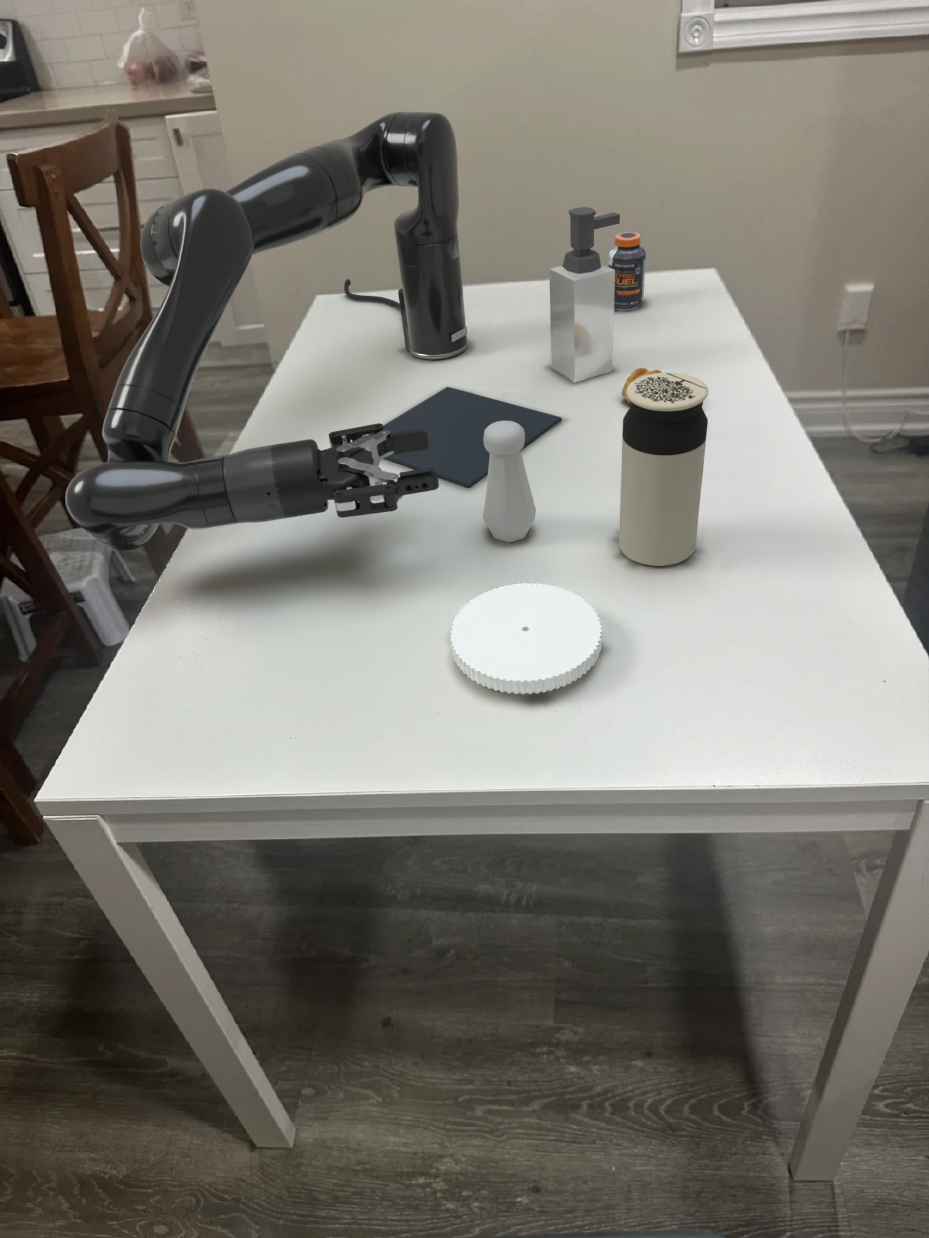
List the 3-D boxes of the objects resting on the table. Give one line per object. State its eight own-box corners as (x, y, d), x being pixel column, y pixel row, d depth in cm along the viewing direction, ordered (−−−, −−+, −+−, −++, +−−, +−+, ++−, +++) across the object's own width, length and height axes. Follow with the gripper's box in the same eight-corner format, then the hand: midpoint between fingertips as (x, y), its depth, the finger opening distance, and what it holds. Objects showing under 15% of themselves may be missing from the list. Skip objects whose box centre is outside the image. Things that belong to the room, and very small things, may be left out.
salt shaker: (542, 521, 98) (538, 415, 90) (528, 549, 94) (523, 442, 86) (493, 515, 100) (485, 411, 91) (477, 543, 96) (467, 437, 87)
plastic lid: (448, 704, 77) (445, 683, 75) (456, 605, 87) (454, 585, 86) (607, 700, 75) (607, 679, 74) (596, 600, 86) (596, 580, 85)
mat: (352, 447, 115) (351, 444, 115) (447, 389, 127) (447, 386, 126) (468, 488, 105) (468, 484, 105) (561, 420, 116) (561, 417, 116)
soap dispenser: (625, 367, 127) (631, 207, 113) (574, 382, 125) (573, 221, 111) (601, 352, 132) (603, 197, 118) (551, 367, 129) (547, 211, 115)
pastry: (702, 402, 117) (705, 375, 114) (673, 422, 113) (675, 395, 111) (645, 385, 122) (646, 359, 120) (615, 403, 119) (616, 377, 116)
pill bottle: (606, 312, 144) (608, 241, 137) (608, 299, 149) (609, 230, 142) (643, 311, 143) (646, 239, 136) (643, 298, 148) (646, 228, 141)
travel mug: (649, 577, 88) (658, 416, 77) (604, 541, 94) (607, 385, 82) (711, 552, 91) (729, 391, 79) (663, 517, 96) (674, 363, 85)
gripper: (266, 485, 81) (437, 458, 82) (269, 418, 92) (420, 394, 93) (284, 551, 85) (446, 524, 86) (284, 479, 96) (428, 456, 97)
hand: (432, 457), depth 89 cm, fingers open, 8 cm apart
